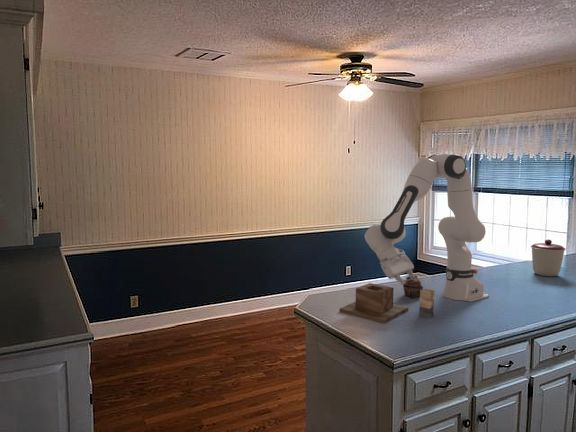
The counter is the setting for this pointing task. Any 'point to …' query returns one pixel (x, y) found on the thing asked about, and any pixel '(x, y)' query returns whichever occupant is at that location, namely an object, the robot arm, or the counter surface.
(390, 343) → the counter surface
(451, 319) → the counter surface
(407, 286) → the cupcake
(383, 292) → the post block
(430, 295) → the rail end
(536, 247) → the canister
